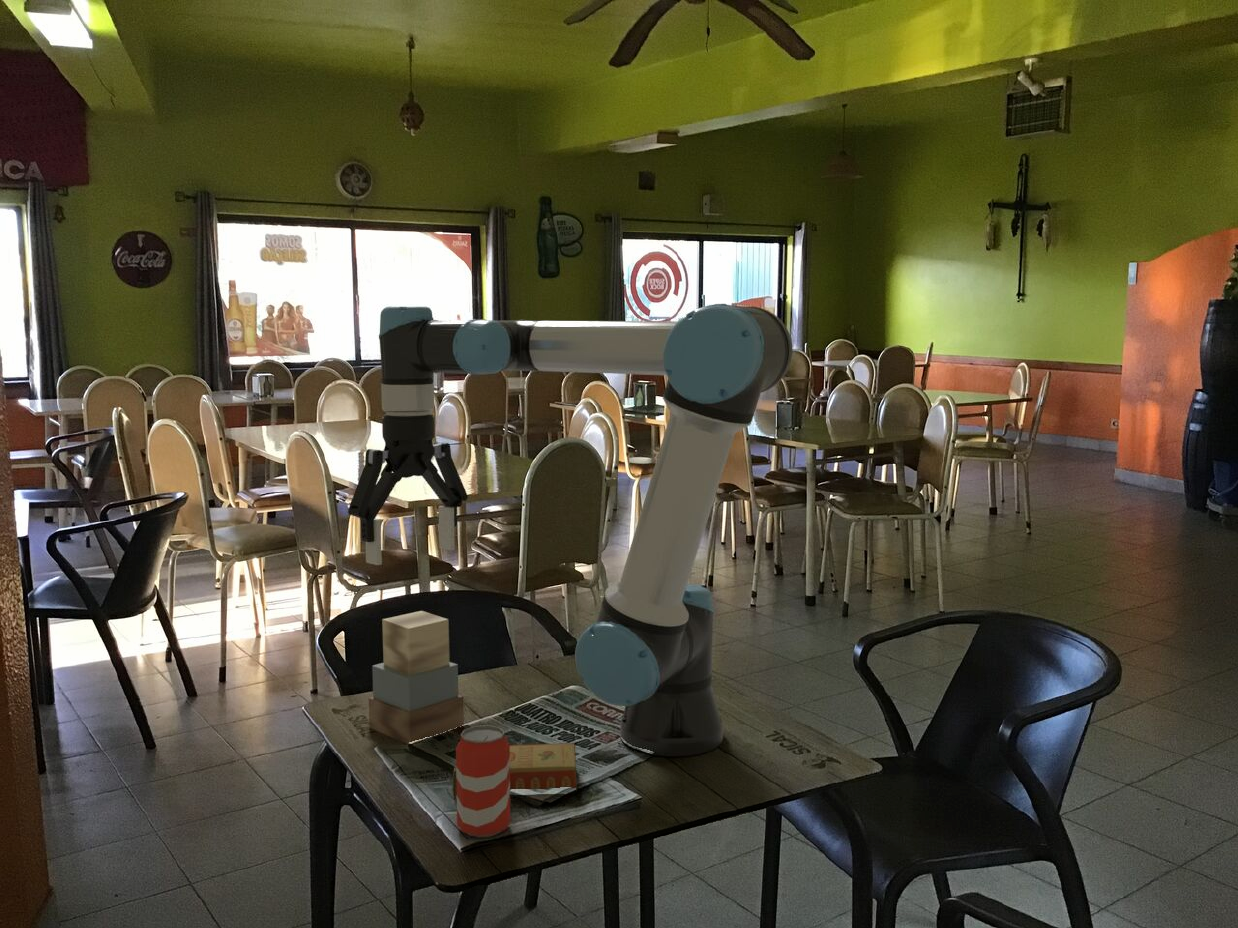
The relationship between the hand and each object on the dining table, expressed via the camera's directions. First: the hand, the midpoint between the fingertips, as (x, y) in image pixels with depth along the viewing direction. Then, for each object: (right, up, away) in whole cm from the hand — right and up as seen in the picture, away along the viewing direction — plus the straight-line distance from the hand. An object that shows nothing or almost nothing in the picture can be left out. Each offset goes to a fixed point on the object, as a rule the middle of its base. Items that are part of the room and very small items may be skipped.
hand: (411, 556), depth 162 cm
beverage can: (+14, -31, -30) cm, 45 cm away
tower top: (0, -21, +3) cm, 22 cm away
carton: (+17, -29, -17) cm, 38 cm away
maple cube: (0, -16, +2) cm, 17 cm away
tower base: (0, -26, +3) cm, 27 cm away
